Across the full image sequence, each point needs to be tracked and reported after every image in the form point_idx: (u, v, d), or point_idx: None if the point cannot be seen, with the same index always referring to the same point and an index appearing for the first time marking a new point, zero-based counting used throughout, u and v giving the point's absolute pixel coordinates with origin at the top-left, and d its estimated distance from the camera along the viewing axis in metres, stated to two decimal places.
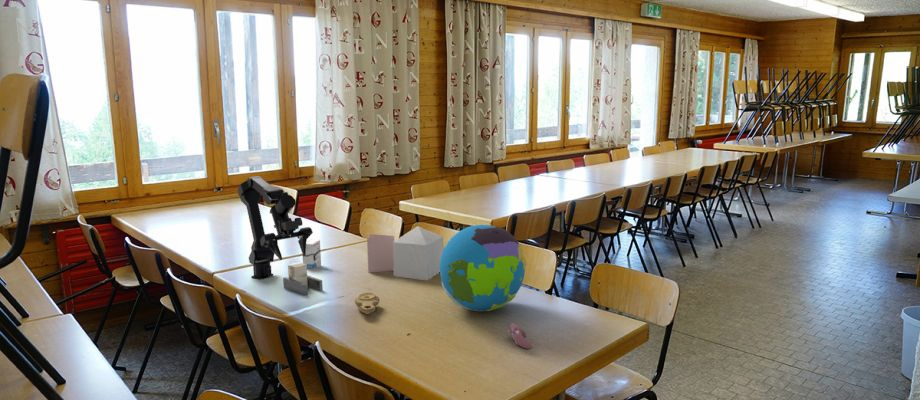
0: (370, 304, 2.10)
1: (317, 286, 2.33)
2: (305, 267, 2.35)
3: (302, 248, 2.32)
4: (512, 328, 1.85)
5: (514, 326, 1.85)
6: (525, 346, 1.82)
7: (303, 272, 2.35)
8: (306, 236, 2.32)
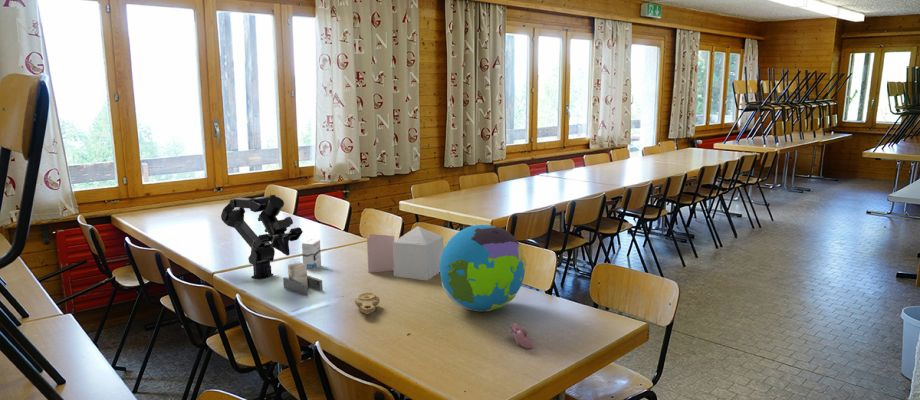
0: (370, 304, 2.10)
1: (317, 286, 2.33)
2: (305, 267, 2.35)
3: None
4: (514, 328, 1.85)
5: (516, 326, 1.85)
6: (527, 346, 1.82)
7: (303, 272, 2.35)
8: (288, 237, 2.41)
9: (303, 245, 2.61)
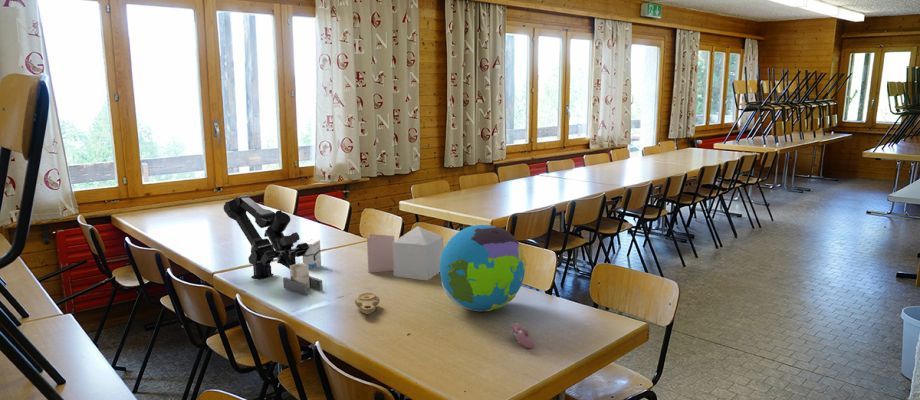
0: (370, 304, 2.10)
1: (317, 286, 2.33)
2: (307, 268, 2.35)
3: None
4: (515, 328, 1.85)
5: (517, 326, 1.85)
6: (528, 346, 1.82)
7: (305, 272, 2.34)
8: (294, 253, 2.39)
9: None
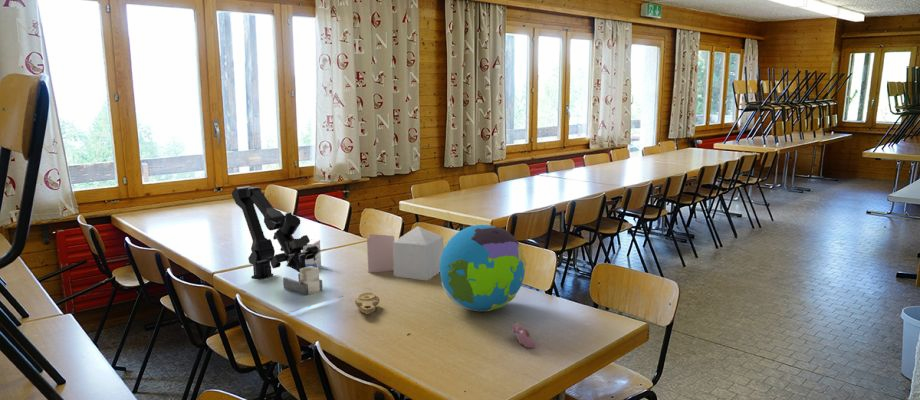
0: (370, 304, 2.10)
1: None
2: (317, 271, 2.30)
3: None
4: (516, 328, 1.85)
5: (518, 326, 1.85)
6: (529, 346, 1.82)
7: (315, 276, 2.30)
8: (304, 256, 2.35)
9: None
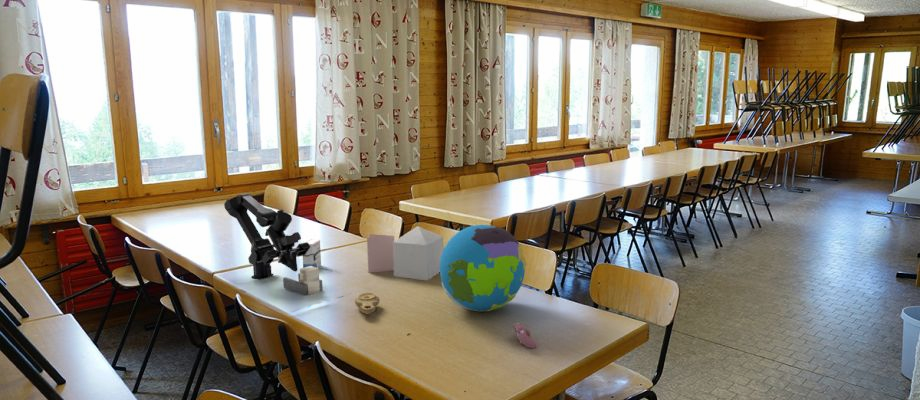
0: (370, 304, 2.10)
1: None
2: (317, 271, 2.30)
3: None
4: (517, 328, 1.85)
5: (519, 326, 1.85)
6: (530, 346, 1.82)
7: (315, 276, 2.30)
8: (295, 252, 2.38)
9: None
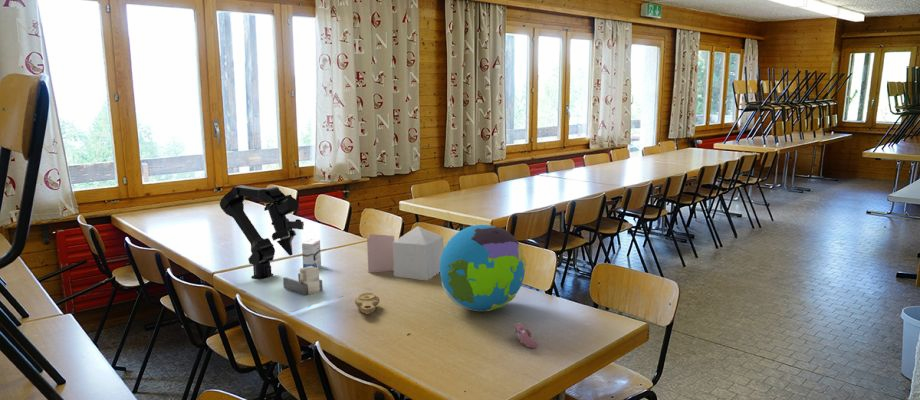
0: (370, 304, 2.10)
1: None
2: (317, 271, 2.30)
3: None
4: (518, 328, 1.85)
5: (519, 326, 1.86)
6: (531, 346, 1.82)
7: (315, 276, 2.30)
8: None
9: (303, 245, 2.61)
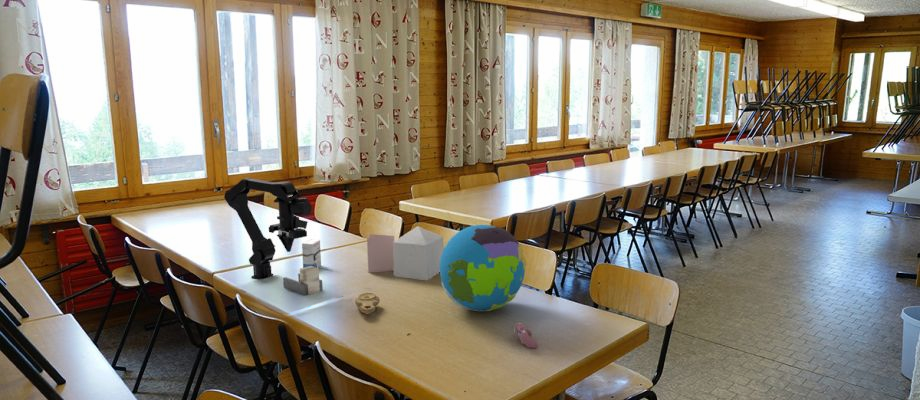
0: (370, 304, 2.10)
1: None
2: (317, 271, 2.30)
3: None
4: (518, 328, 1.85)
5: (520, 326, 1.86)
6: (531, 346, 1.82)
7: (315, 276, 2.30)
8: None
9: (303, 245, 2.61)
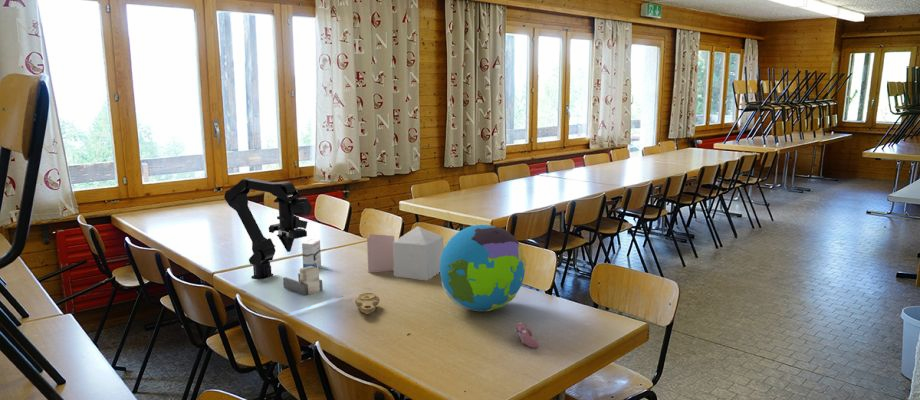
0: (370, 304, 2.10)
1: None
2: (317, 271, 2.30)
3: None
4: (519, 328, 1.85)
5: (521, 326, 1.86)
6: (532, 345, 1.82)
7: (315, 276, 2.30)
8: None
9: (303, 245, 2.61)
